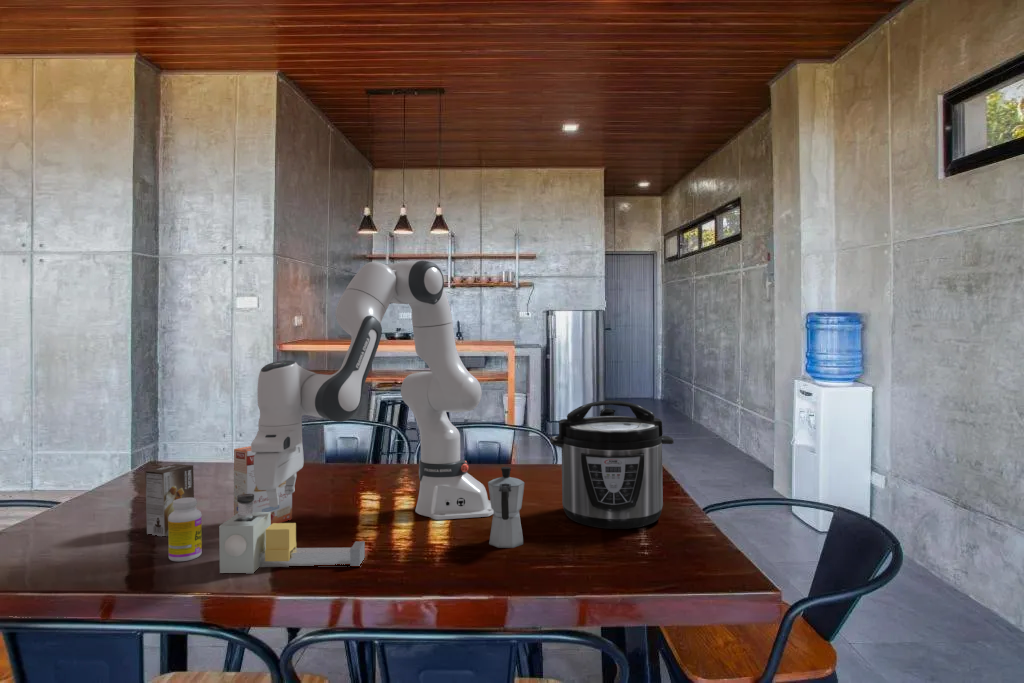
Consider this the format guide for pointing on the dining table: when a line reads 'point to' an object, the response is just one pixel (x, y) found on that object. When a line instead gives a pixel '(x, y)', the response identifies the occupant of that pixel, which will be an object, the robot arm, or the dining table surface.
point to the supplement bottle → (184, 530)
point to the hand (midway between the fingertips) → (282, 499)
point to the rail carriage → (280, 541)
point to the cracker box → (247, 485)
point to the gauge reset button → (245, 507)
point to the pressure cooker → (612, 466)
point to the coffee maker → (506, 510)
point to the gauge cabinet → (243, 543)
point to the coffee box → (166, 494)
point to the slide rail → (320, 556)
